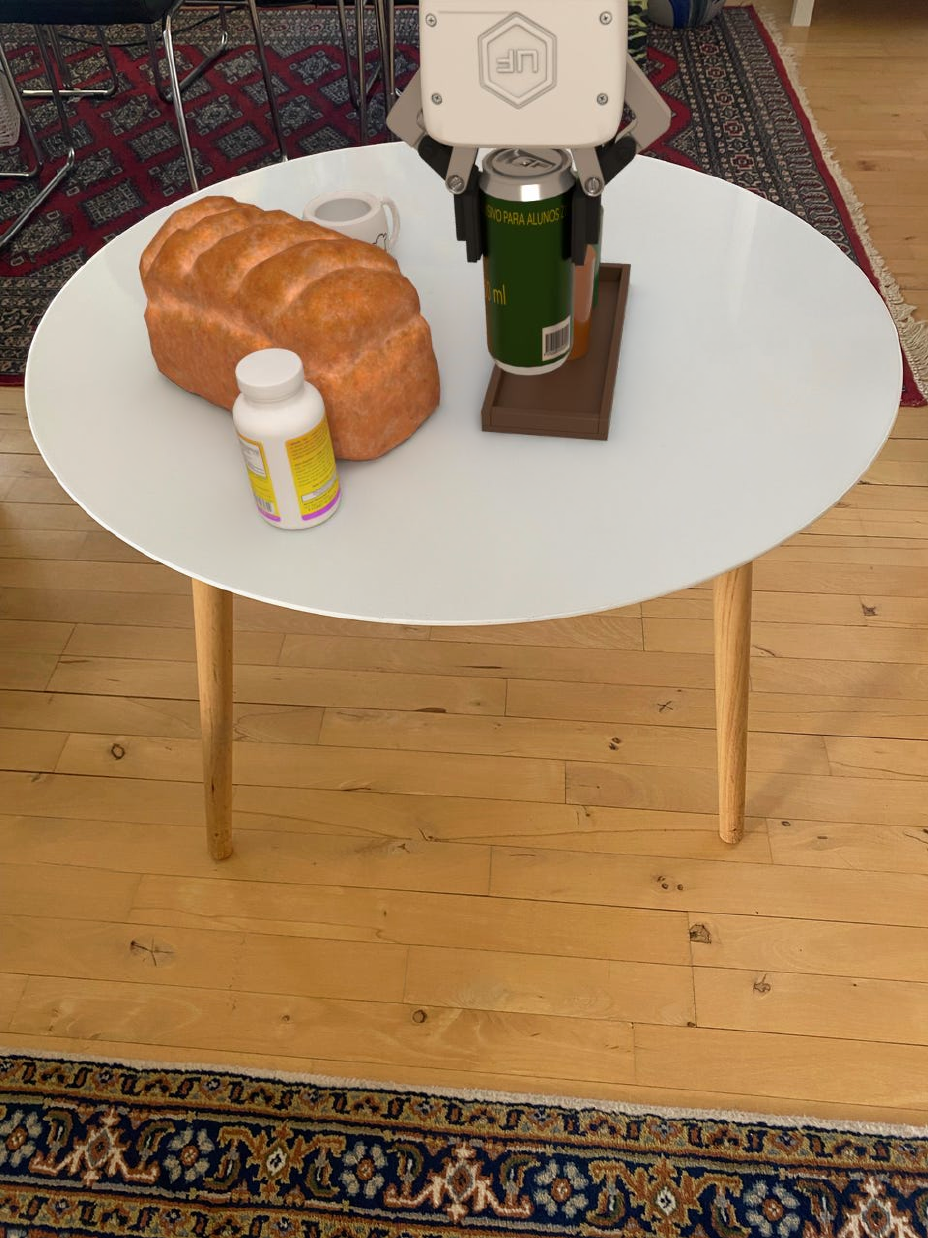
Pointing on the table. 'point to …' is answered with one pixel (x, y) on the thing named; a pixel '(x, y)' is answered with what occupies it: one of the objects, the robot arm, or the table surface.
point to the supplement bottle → (285, 440)
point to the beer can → (528, 257)
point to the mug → (355, 216)
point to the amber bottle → (583, 306)
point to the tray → (567, 378)
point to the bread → (291, 317)
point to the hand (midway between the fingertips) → (528, 249)
